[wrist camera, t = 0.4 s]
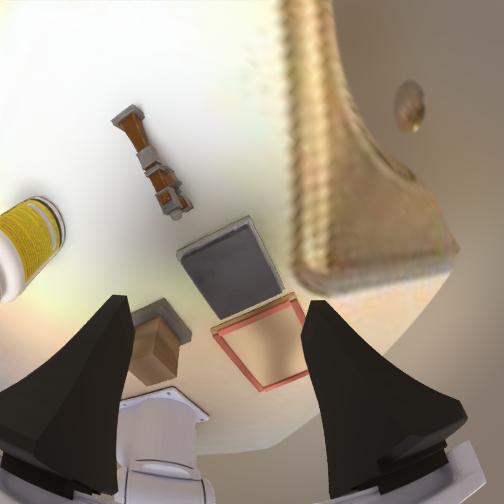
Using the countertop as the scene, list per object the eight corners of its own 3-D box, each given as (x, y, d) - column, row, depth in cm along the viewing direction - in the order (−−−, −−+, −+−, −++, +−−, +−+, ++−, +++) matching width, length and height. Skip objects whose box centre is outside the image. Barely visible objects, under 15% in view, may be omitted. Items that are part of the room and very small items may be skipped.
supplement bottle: (33, 181, 16) (-49, 228, 8) (76, 224, 19) (8, 294, 10) (11, 228, 17) (-56, 286, 9) (50, 267, 20) (-6, 341, 11)
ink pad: (218, 312, 24) (219, 323, 22) (177, 251, 21) (174, 260, 19) (282, 283, 23) (286, 293, 22) (249, 215, 20) (251, 222, 19)
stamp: (153, 347, 25) (146, 392, 20) (125, 315, 23) (110, 360, 18) (191, 332, 24) (189, 379, 19) (164, 297, 22) (154, 344, 17)
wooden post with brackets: (185, 227, 19) (160, 227, 15) (138, 138, 19) (108, 119, 14) (206, 214, 19) (187, 210, 14) (157, 125, 19) (131, 102, 14)
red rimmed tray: (259, 387, 29) (260, 393, 28) (210, 328, 24) (211, 334, 24) (325, 360, 28) (327, 365, 28) (293, 292, 24) (296, 297, 23)
